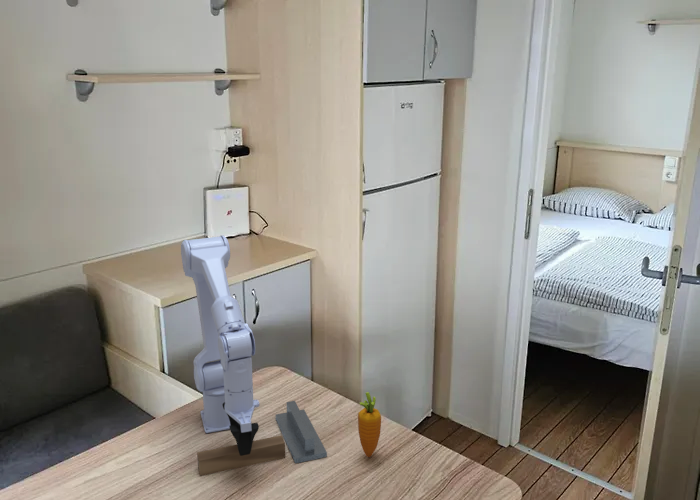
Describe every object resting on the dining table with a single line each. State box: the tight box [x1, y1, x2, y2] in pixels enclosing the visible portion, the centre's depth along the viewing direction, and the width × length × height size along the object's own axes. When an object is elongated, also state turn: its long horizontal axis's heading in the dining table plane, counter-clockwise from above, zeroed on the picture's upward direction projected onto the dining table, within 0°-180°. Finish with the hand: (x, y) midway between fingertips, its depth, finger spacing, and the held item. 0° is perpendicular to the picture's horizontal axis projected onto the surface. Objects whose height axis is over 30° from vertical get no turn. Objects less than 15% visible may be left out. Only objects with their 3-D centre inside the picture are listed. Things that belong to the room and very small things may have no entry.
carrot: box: [357, 391, 382, 458], centre depth 134 cm, size 5×5×15 cm
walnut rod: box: [196, 434, 286, 477], centre depth 134 cm, size 3×18×4 cm, turn 111°
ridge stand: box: [275, 400, 328, 465], centre depth 143 cm, size 18×7×5 cm, turn 20°
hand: (241, 443), depth 133 cm, fingers open, 7 cm apart
